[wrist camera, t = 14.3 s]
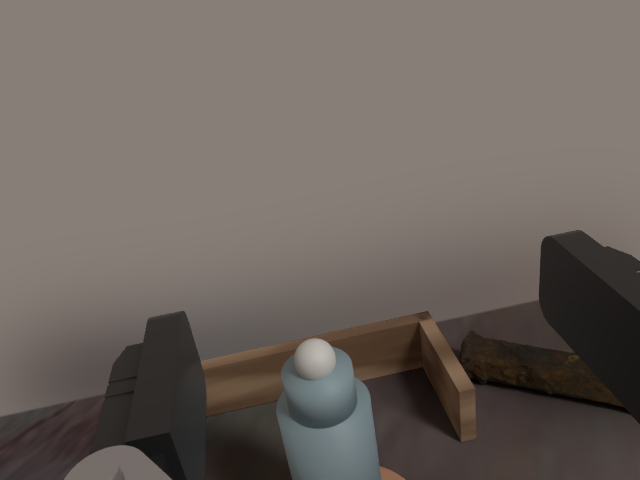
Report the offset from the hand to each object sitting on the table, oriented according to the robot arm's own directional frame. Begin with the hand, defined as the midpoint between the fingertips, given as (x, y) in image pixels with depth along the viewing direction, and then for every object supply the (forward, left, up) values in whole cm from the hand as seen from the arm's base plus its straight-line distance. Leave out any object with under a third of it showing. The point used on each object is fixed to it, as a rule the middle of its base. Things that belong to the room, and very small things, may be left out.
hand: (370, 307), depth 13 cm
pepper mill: (+7, -11, -26) cm, 29 cm away
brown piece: (-7, -29, -28) cm, 41 cm away
